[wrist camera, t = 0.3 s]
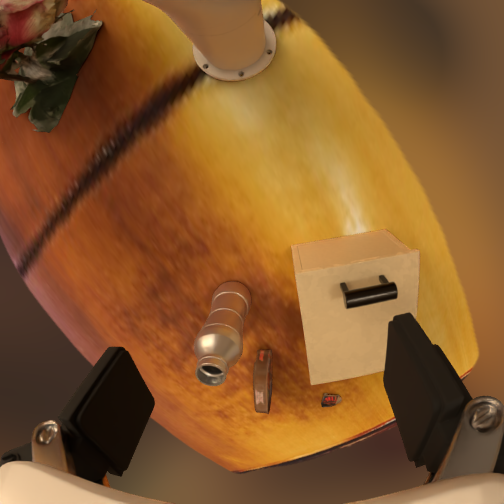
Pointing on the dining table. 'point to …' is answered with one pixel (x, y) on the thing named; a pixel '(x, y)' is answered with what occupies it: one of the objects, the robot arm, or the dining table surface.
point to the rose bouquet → (43, 56)
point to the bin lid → (354, 312)
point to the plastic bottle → (222, 333)
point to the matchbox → (330, 400)
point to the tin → (262, 381)
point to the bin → (345, 249)
